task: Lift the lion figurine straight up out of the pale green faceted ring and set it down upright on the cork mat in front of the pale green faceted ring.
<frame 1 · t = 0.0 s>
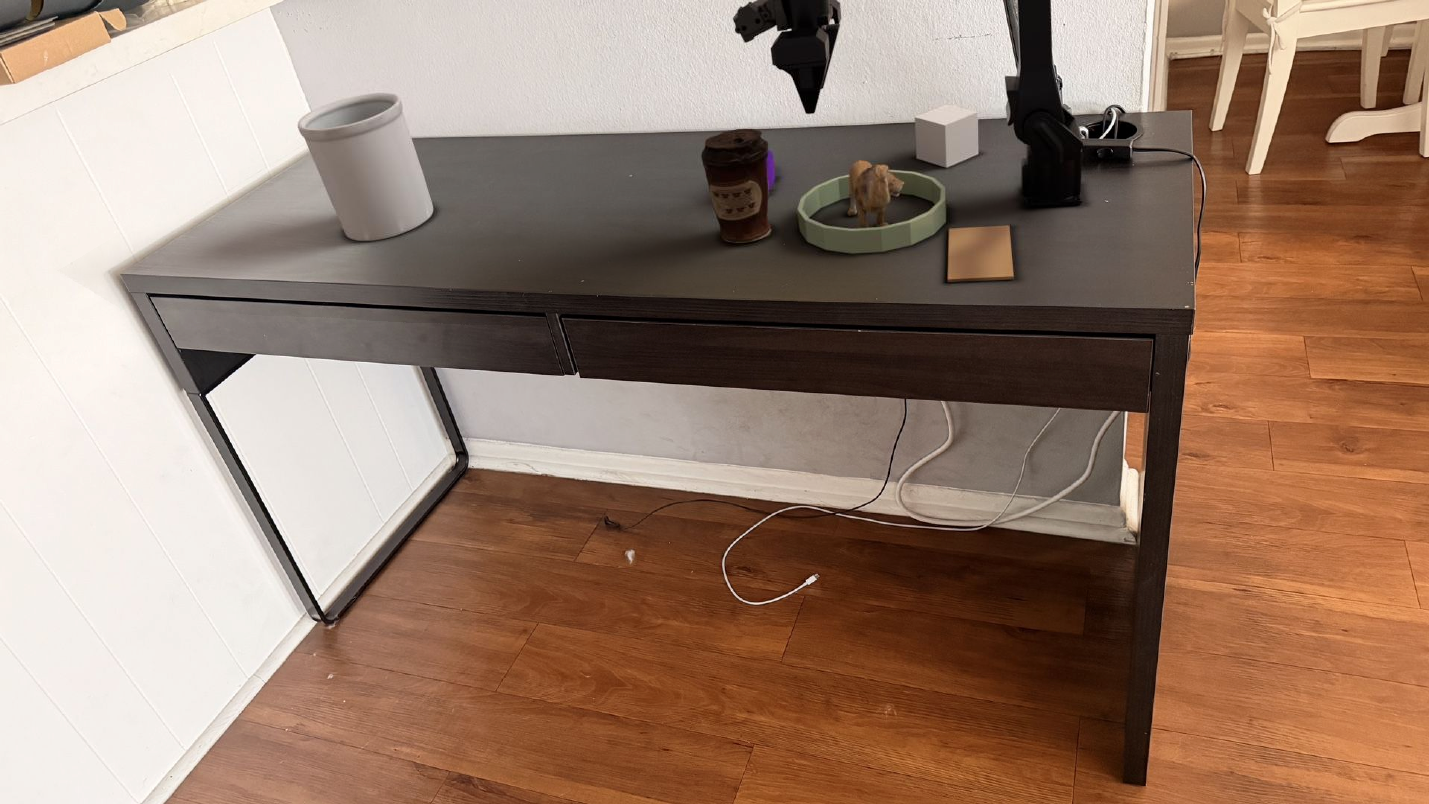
hand: (814, 100, 126), 15 cm above the table, tool pointing down, fingers open, 9 cm apart
coffee cup: (746, 236, 132), on the table
utensil holder: (389, 223, 156), on the table
pale green faceted ring: (872, 220, 130), on the table
cork mat: (979, 254, 118), on the table
white cube: (947, 157, 144), on the table
lion figurine: (872, 222, 130), resting in pale green faceted ring
crystal: (760, 184, 146), on the table
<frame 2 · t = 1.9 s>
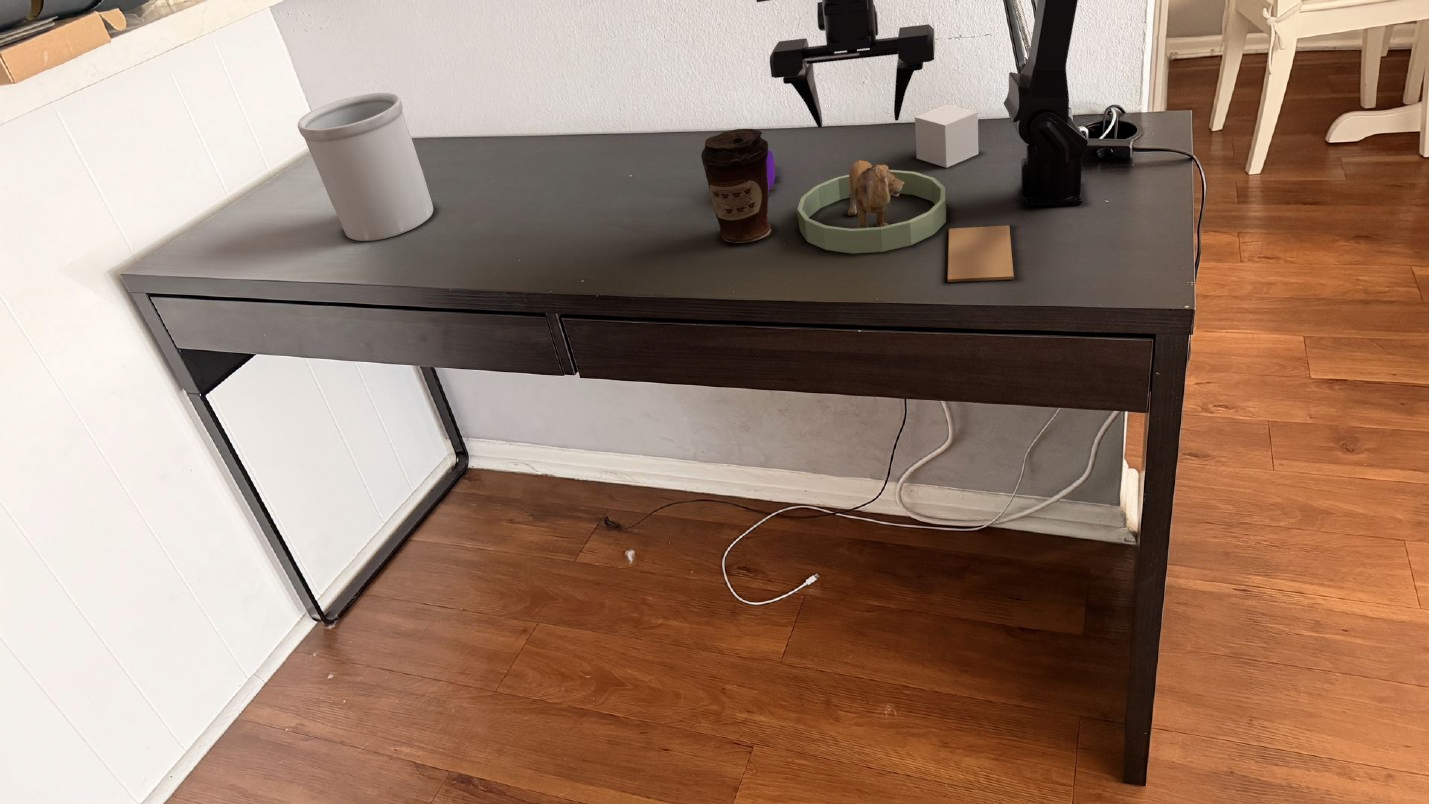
hand: (858, 122, 124), 13 cm above the table, tool pointing down, fingers open, 9 cm apart
nothing on the table moved.
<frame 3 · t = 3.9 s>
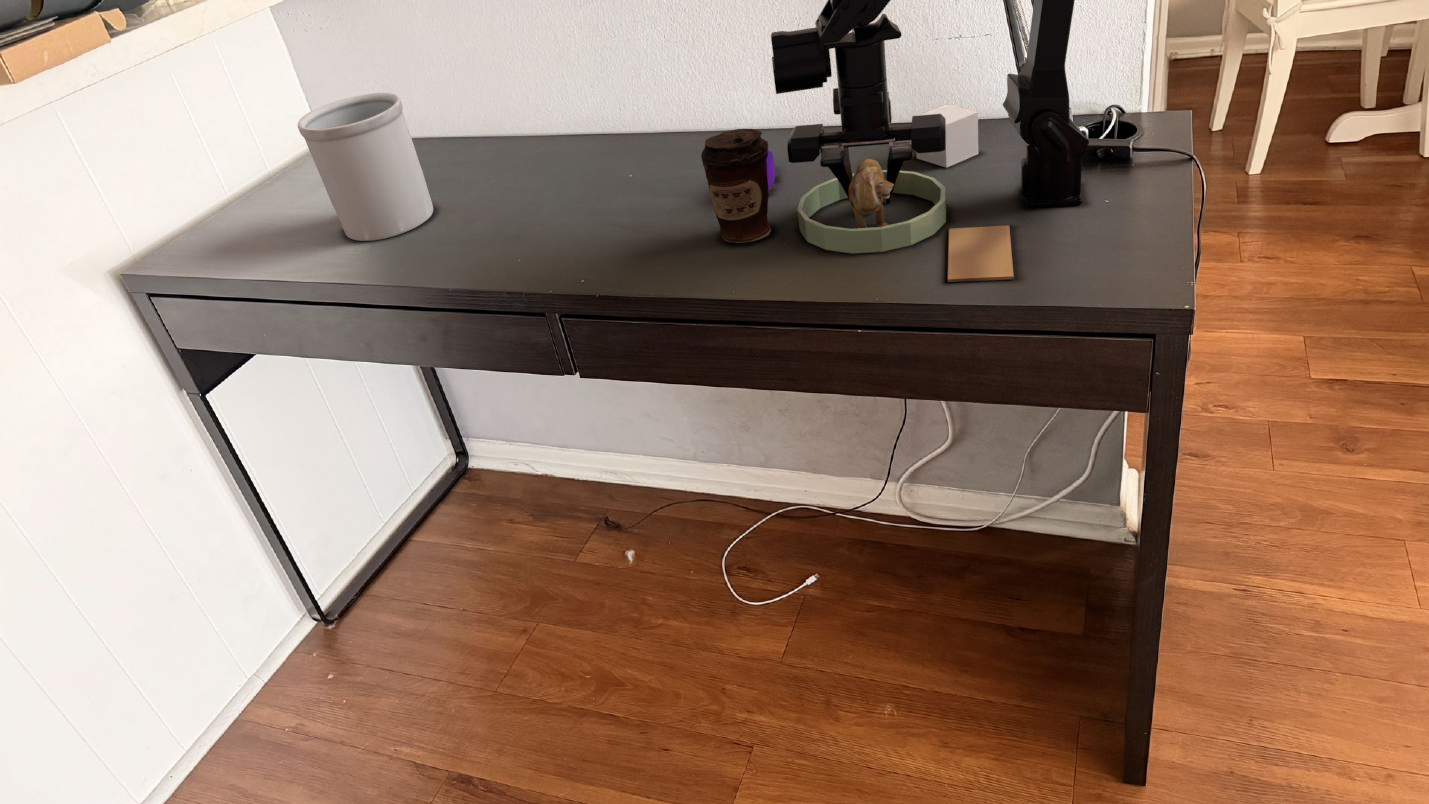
hand: (871, 204, 128), 2 cm above the table, tool pointing down, fingers closed on lion figurine, 4 cm apart
lion figurine: (877, 221, 129), resting in pale green faceted ring, touching gripper
everything else where it was.
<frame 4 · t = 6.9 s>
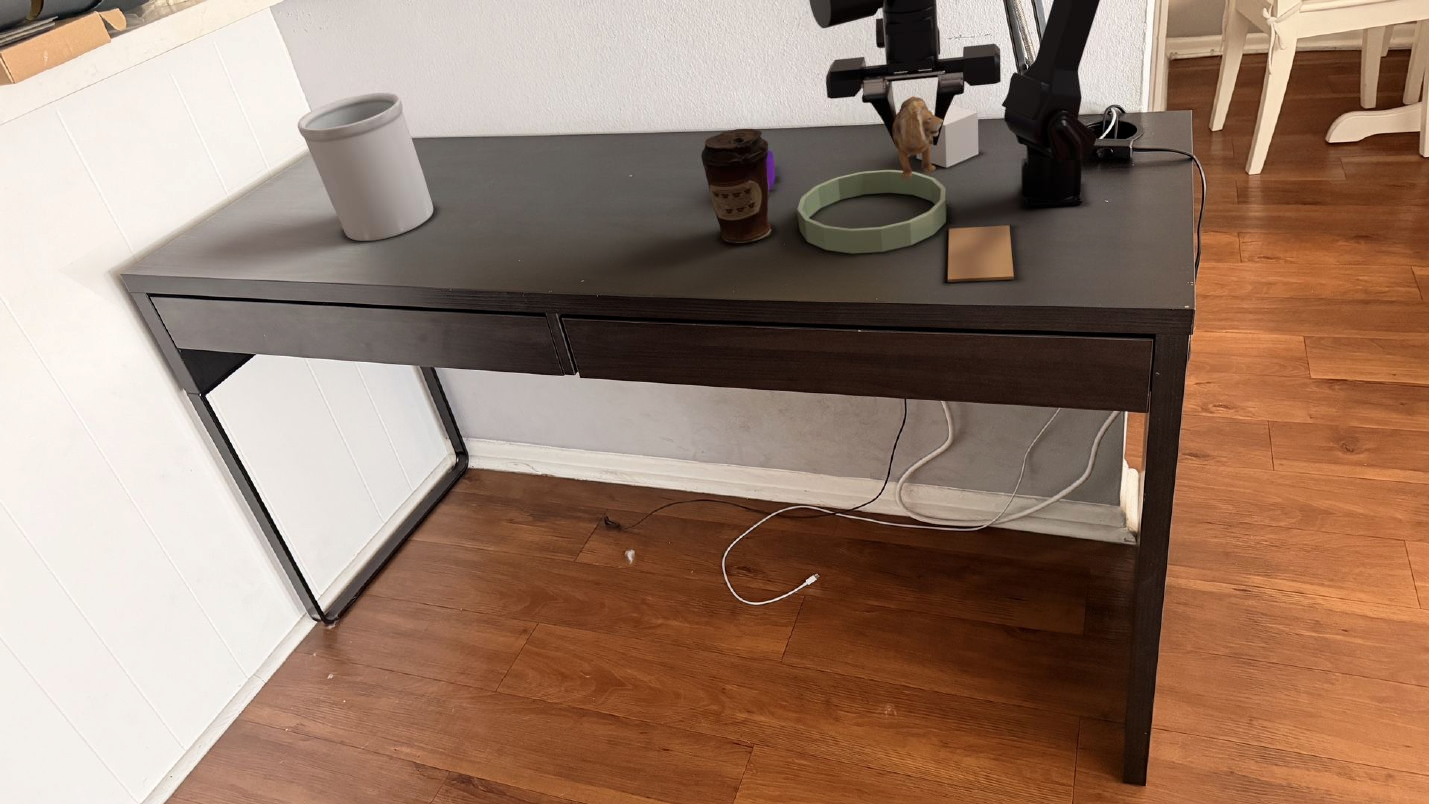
hand: (916, 145, 118), 11 cm above the table, tool pointing down, fingers closed on lion figurine, 4 cm apart
lion figurine: (922, 165, 119), point 9 cm above the table, touching gripper
everything else where it was.
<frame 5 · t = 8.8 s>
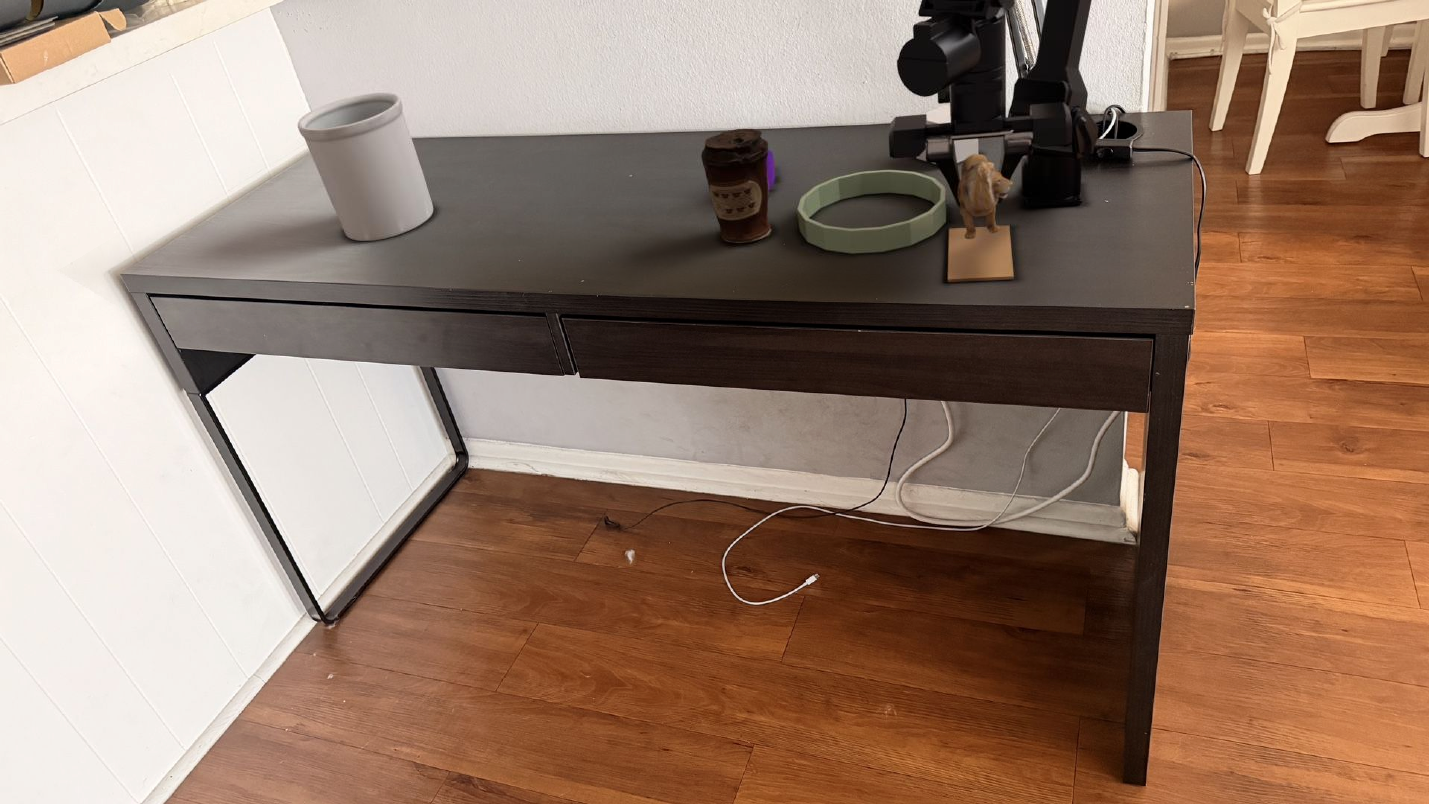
hand: (979, 204, 114), 6 cm above the table, tool pointing down, fingers closed on lion figurine, 4 cm apart
lion figurine: (985, 223, 115), point 4 cm above the table, touching gripper
everything else where it was.
when the fingers open (3 cm above the table, at t = 10.1 s): lion figurine stays where it is, resting on cork mat.
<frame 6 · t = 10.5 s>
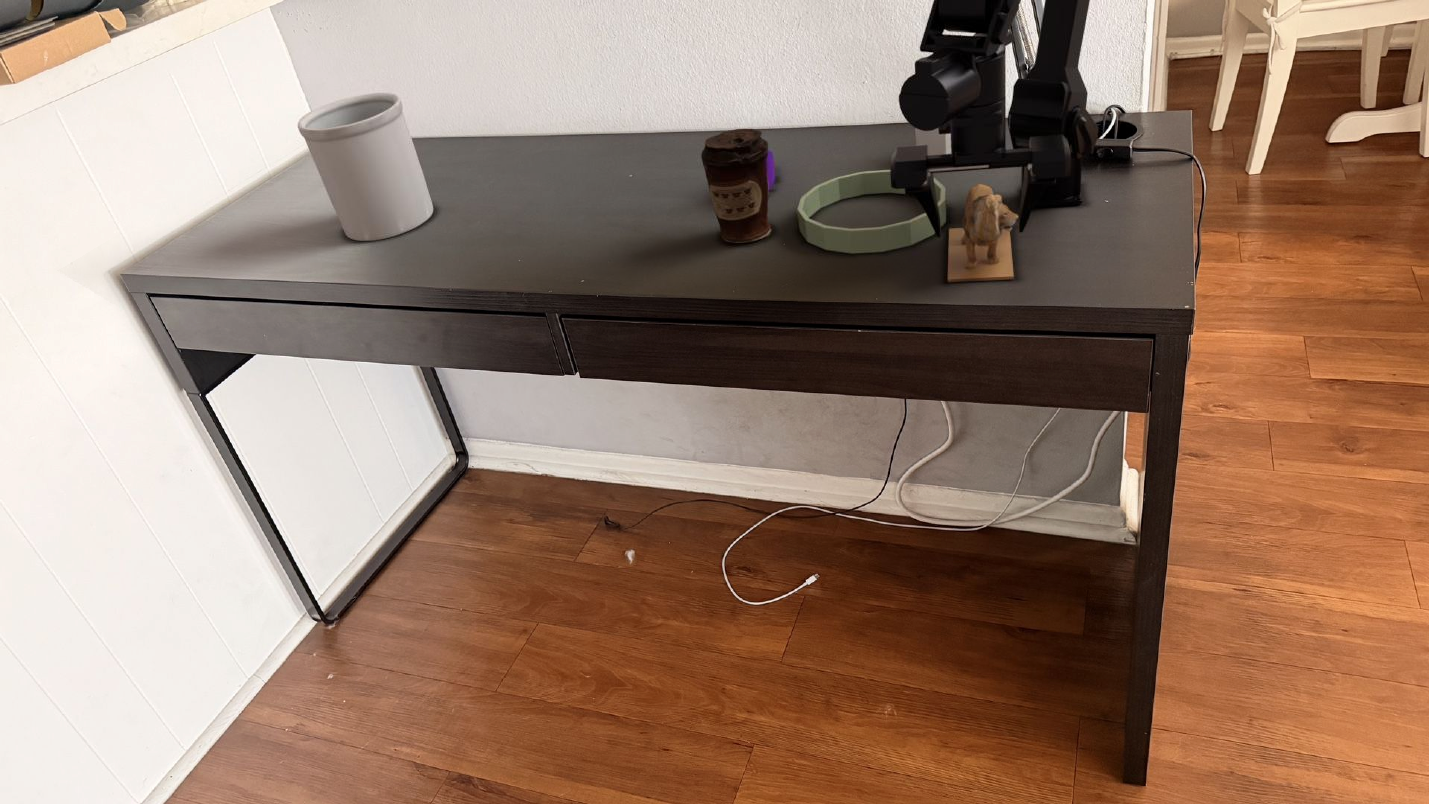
hand: (979, 233, 116), 3 cm above the table, tool pointing down, fingers open, 9 cm apart
lion figurine: (985, 253, 117), resting on cork mat
everything else where it was.
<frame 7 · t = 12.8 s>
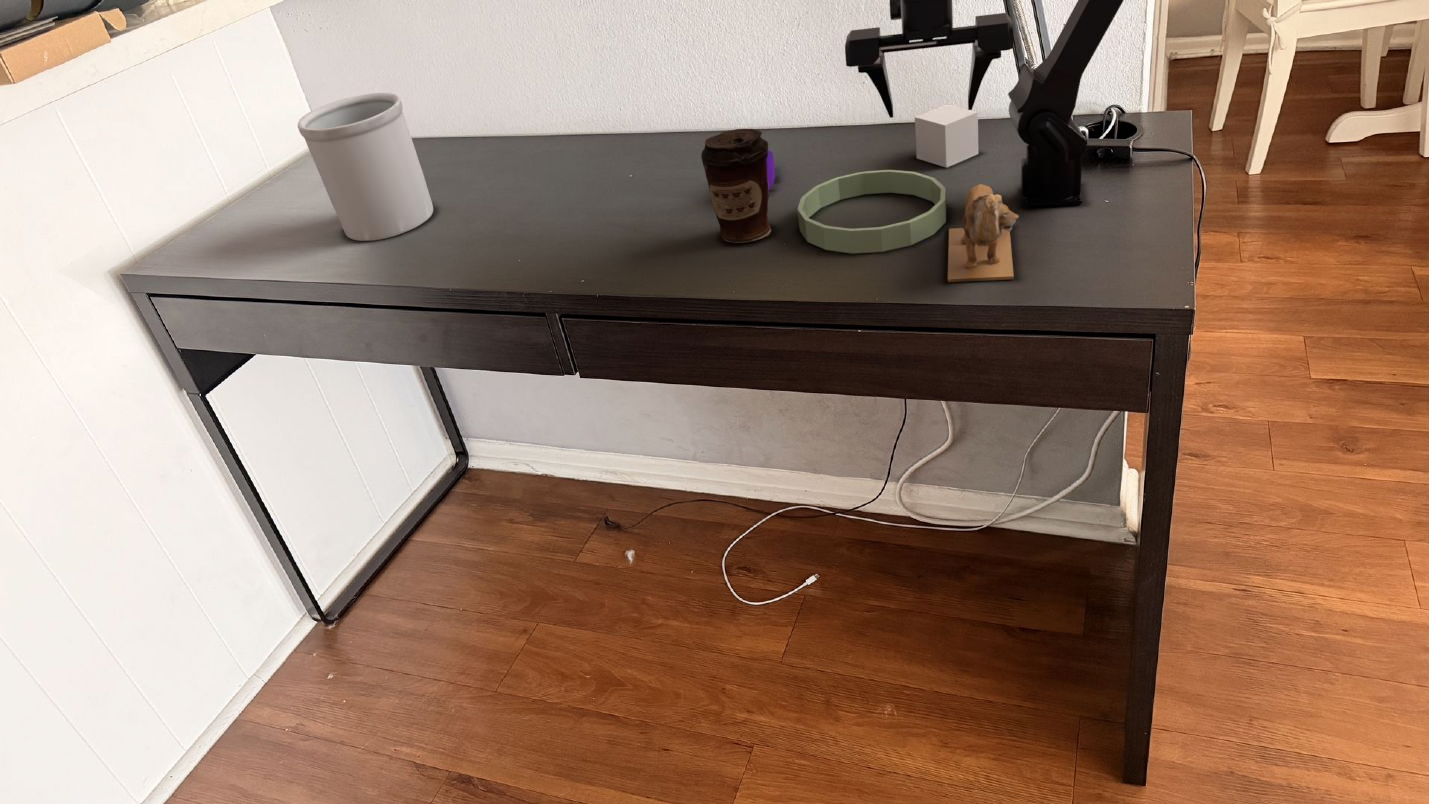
hand: (930, 112, 123), 13 cm above the table, tool pointing down, fingers open, 9 cm apart
nothing on the table moved.
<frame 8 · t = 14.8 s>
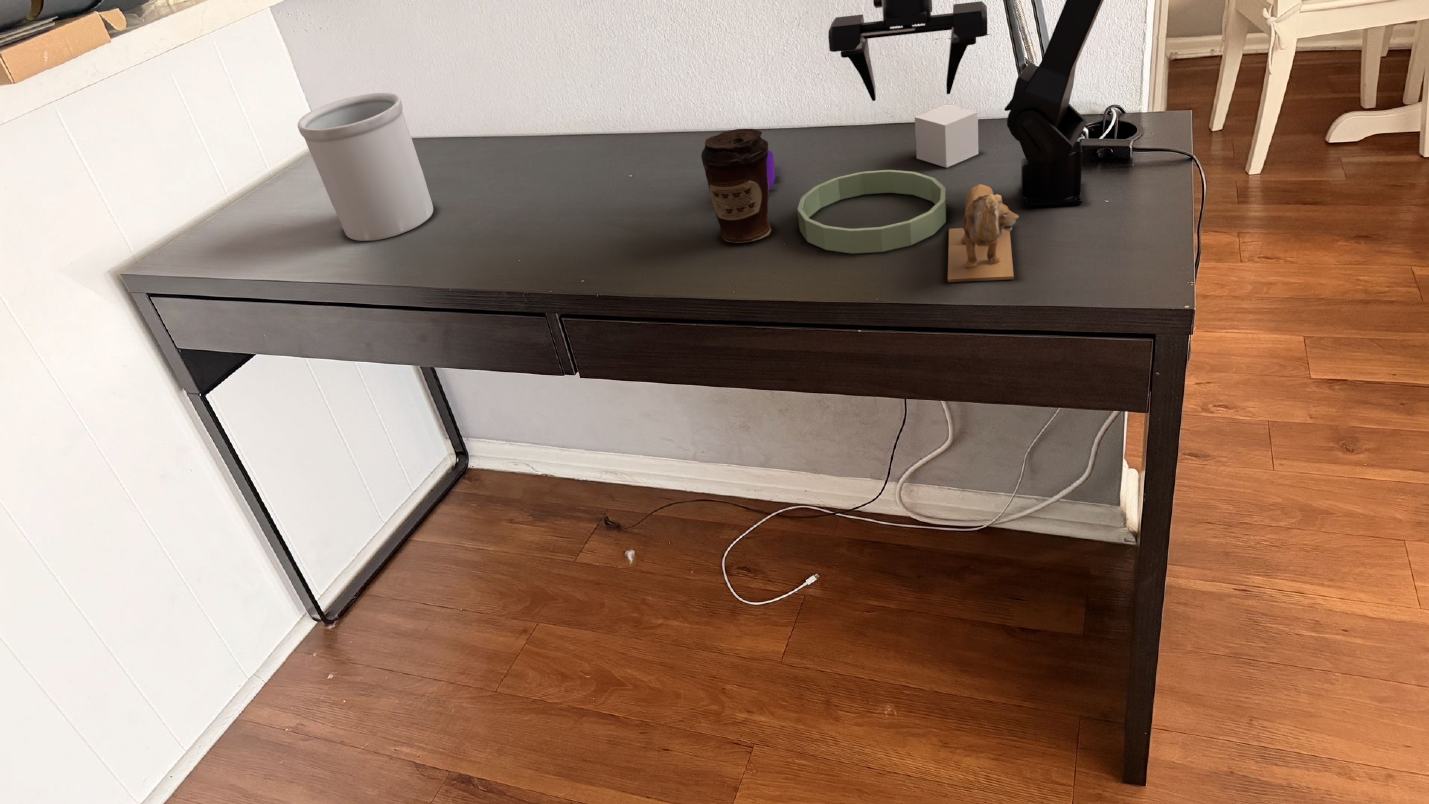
hand: (910, 96, 129), 12 cm above the table, tool pointing down, fingers open, 9 cm apart
nothing on the table moved.
at the end: lion figurine inside the target area (0.8 cm from its centre), resting on cork mat; lion figurine tilted 0°; the gripper is holding nothing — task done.
